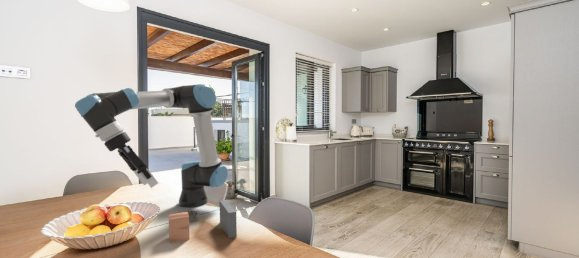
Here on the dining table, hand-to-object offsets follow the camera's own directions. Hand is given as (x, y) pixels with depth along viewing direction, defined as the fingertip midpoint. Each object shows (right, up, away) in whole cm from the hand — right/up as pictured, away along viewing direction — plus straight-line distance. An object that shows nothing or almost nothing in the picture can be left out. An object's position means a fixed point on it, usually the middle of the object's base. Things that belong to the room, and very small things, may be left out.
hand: (151, 184), depth 101 cm
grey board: (+25, -22, +14) cm, 36 cm away
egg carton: (+4, -22, +25) cm, 33 cm away
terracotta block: (+8, -22, +6) cm, 24 cm away
